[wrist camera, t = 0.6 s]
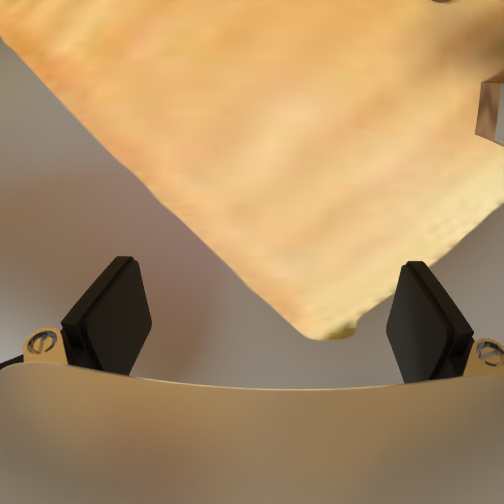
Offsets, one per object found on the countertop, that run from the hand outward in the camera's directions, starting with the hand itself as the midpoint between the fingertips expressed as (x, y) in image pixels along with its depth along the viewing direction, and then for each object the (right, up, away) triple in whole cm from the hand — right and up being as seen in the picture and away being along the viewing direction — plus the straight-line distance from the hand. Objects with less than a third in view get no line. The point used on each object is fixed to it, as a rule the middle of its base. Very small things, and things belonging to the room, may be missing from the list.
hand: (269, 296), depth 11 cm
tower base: (+35, +21, +20) cm, 46 cm away
